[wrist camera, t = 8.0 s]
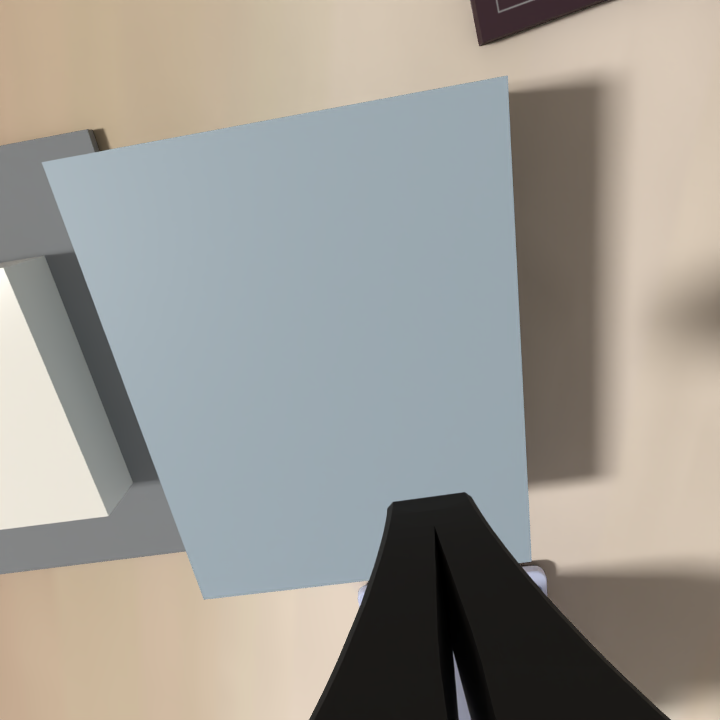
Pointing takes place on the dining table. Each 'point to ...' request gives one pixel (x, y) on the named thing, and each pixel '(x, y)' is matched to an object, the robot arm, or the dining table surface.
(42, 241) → the mat
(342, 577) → the plate
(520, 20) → the chocolate bar
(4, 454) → the tile
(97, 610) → the dining table surface
